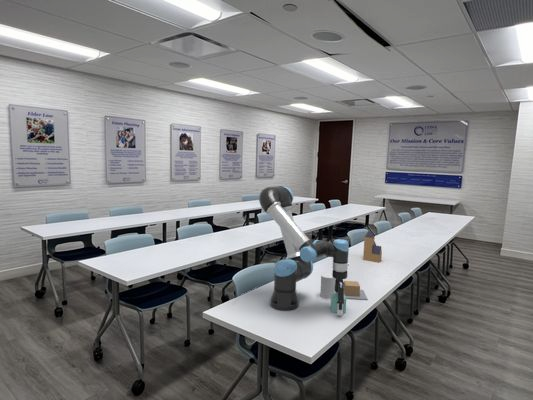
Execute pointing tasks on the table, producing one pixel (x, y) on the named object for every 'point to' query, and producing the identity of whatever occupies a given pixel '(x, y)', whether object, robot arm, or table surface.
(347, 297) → the tower base
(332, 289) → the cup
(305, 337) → the table surface
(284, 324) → the table surface
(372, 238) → the toy building blocks
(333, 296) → the teal cube
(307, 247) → the robot arm
